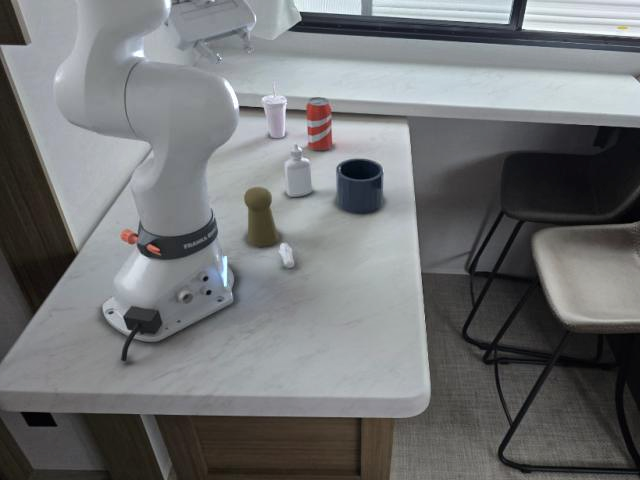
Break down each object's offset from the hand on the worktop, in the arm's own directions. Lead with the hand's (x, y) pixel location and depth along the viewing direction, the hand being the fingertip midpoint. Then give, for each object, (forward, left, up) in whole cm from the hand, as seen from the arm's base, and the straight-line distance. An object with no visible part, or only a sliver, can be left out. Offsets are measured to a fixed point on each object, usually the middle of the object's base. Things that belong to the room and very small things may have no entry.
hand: (234, 56), depth 114 cm
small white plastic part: (-21, -30, -27) cm, 45 cm away
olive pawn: (-18, -21, -27) cm, 39 cm away
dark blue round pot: (+6, -28, -27) cm, 39 cm away
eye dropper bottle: (0, -15, -27) cm, 31 cm away
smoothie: (+19, +9, -27) cm, 34 cm away
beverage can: (+21, -4, -27) cm, 34 cm away
